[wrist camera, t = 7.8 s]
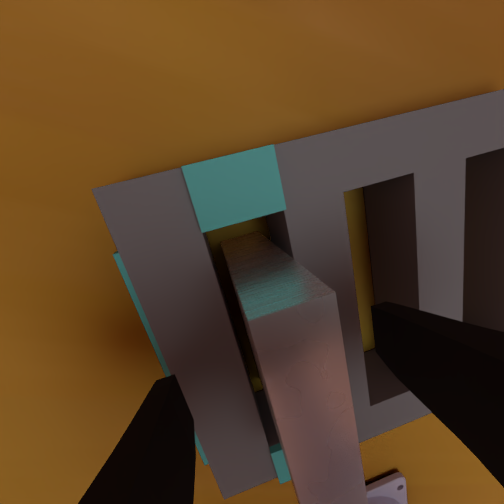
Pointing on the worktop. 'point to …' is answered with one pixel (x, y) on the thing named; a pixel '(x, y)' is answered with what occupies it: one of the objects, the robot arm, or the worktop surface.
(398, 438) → the worktop surface
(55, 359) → the worktop surface
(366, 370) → the slot rack
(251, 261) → the grey slab
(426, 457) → the worktop surface
